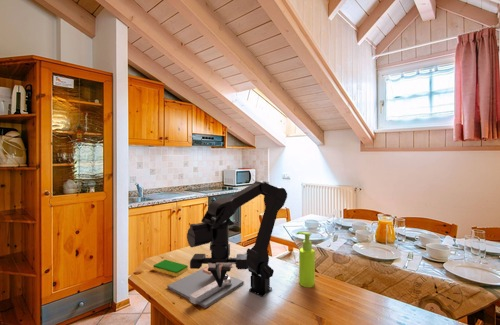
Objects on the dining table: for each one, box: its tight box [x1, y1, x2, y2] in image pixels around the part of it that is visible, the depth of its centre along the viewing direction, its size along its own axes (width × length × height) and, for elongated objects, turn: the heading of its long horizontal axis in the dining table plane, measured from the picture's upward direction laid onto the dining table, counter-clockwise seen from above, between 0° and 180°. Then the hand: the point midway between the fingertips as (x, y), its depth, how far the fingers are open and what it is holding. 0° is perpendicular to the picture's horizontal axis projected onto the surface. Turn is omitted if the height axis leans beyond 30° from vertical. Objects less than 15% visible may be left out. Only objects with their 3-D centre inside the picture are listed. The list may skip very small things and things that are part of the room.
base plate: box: [166, 266, 244, 309], centre depth 100 cm, size 21×20×1 cm
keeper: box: [202, 264, 222, 276], centre depth 104 cm, size 4×8×4 cm, turn 143°
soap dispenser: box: [296, 230, 316, 288], centre depth 101 cm, size 6×7×20 cm
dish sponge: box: [152, 259, 189, 277], centre depth 113 cm, size 7×14×2 cm, turn 62°
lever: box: [189, 273, 233, 305], centre depth 94 cm, size 18×5×3 cm, turn 142°
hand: (220, 286), depth 86 cm, fingers closed
